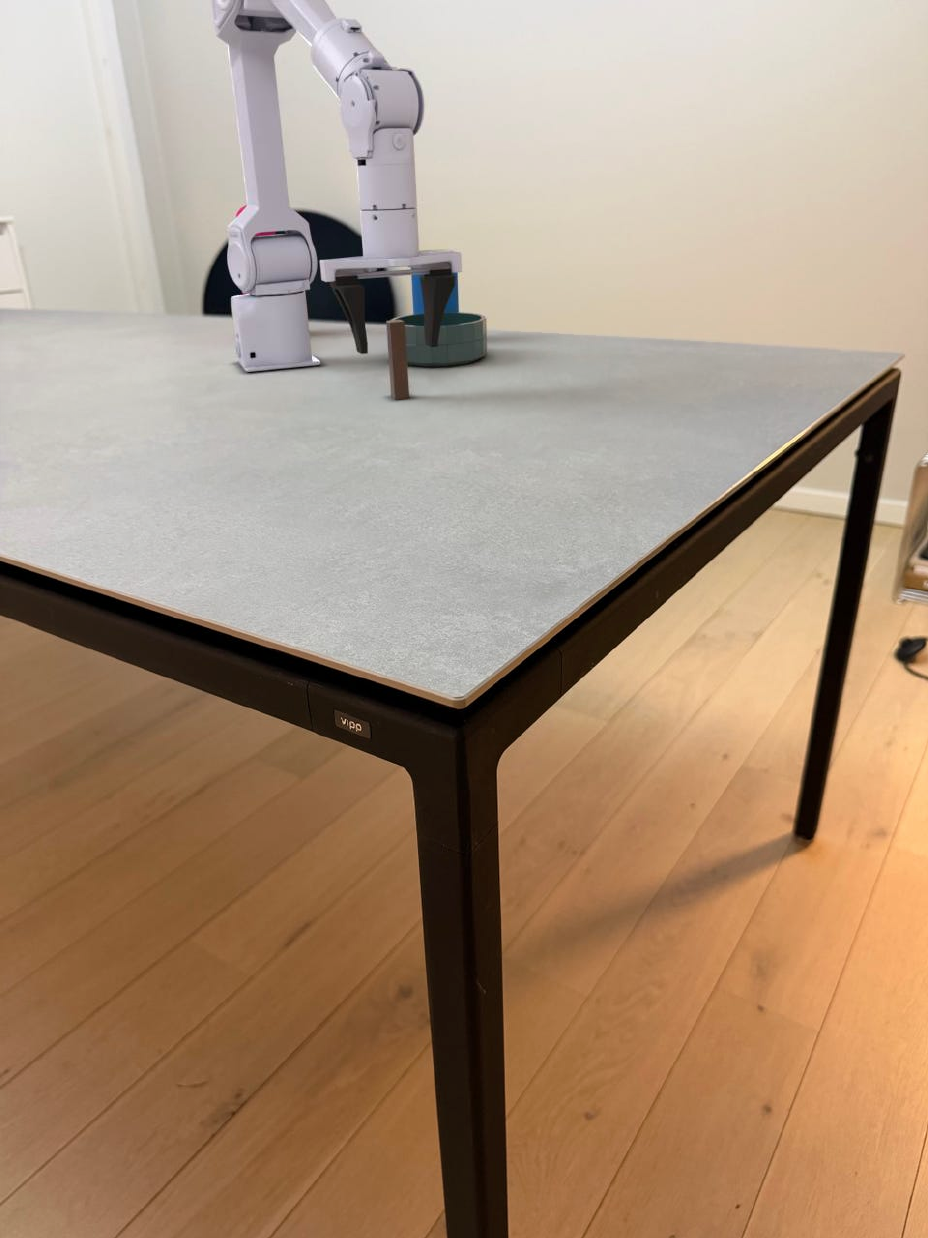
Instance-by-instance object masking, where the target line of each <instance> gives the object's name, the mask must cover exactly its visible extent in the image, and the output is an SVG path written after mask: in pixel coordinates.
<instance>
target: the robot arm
mask: <svg viewBox="0 0 928 1238" xmlns="http://www.w3.org/2000/svg"><path fill="white" fill-rule="evenodd" d="M210 4H211V12H212V20H213V24H214V30H215V35H216V37H217V38H218V39H220V40H221V41H222V42H224V43H225V44H226V45H227V51H228V60H229V67H230V76H231V83H232V92H233V99H234V101H233V102H234V108H235V115H236V123H237V124H236V125H237V131H238V132H237V133H238V142H239V149H240V157H241V164H242V173H243V182H244V190H245V197H246V205H247V207H246V208H245V209H244V210H243V211H242V212H241V213H240V214H239V215H238V216H237V217H236V216H235V217H234V219H233V220H232V221H231V222H230V223H229V224H228V226H227V236H228V237H227V238H228V239H227V241H228V242H227V243H228V247H227V258H226V259H227V267H228V271H229V275H230V277H231V279H232V282H233V283H234V284H235V285H236V287H237V288H238V289H239V290H240V291H241V293H242V294H240V295H239V294H237V295H233V296H231V298H230V307H231V316H232V324H233V331H234V339H235V343H234V344H235V345H234V346H235V353H236V357H237V362H238V364H239V365H240V366H241V367H242V369H243V370H244V371H245V372H246V373H247V372H259V371H260V372H261V371H270V370H271V371H272V370H281V369H291V368H292V369H293V368H300V367H310V366H320V365H321V361H320V360H319V359H318V358H317V357H316V356H314V355H313V353H312V343H311V334H310V325H309V314H308V304H307V296H306V295H307V294H306V291H310V290H311V284H312V283H313V282H314V280H315V277H316V275H317V271H318V256H317V251H316V247H315V245H314V242H313V239H312V234H311V229H310V223H309V222H308V221H307V220H306V219H305V218H304V217H302V216H301V215H300V214H299V213H298V212H297V211H296V210H294V209H293V208H292V207H291V206H290V199H289V198H290V197H289V187H288V179H287V169H286V158H285V151H284V150H285V149H284V139H283V129H282V120H281V113H280V112H281V111H280V101H279V92H278V82H277V73H276V64H275V63H276V62H275V55H276V53H277V51H278V50H279V47H280V46H281V45H283V44H286V43H288V42H290V41H291V40H292V38H293V37H294V36H295V35H296V33H298V34H299V35H300V36H301V37H302V39H304V40H305V41H306V42H307V43H308V45H309V46H310V60H311V63H312V66H313V68H314V69H315V71H316V72H317V74H318V75H319V76H320V77H321V79H322V80H323V81H324V82H325V83H326V85H327V86H328V87H329V89H330V90H331V91H332V92H333V94H334V96H335V97H336V98H337V99H338V100H339V101H340V104H339V107H338V109H339V114H340V119H341V124H342V126H343V129H344V130H345V132H346V134H347V135H346V136H347V138H348V139H347V140H348V149H349V153H350V154H351V155H350V156H351V157H352V158H353V159H355V163H356V164H355V165H356V176H357V192H358V203H359V204H358V205H359V216H360V217H359V218H360V230H361V231H360V232H361V241H362V242H361V244H362V256H352V257H351V256H350V257H344V258H343V257H341V258H331V259H320V260H319V269H320V280H321V281H322V282H325V283H330V284H329V285H330V288H331V289H332V292H333V293H334V295H335V297H336V299H337V300H338V303H339V304H340V306H341V308H342V311H343V312H344V315H345V317H346V319H347V322H348V324H349V328H350V330H351V333H352V337H353V340H354V344H355V349H356V352H357V353H358V354H360V355H366V354H367V355H368V353H369V344H368V336H367V328H366V315H365V313H366V312H365V311H366V310H365V309H366V308H365V303H366V302H365V300H366V288H365V287H364V285H362V284H361V283H362V282H361V281H359V280H361V279H375V278H388V277H400V276H401V277H403V276H404V277H405V276H411V275H418V274H426V275H423V276H421V277H420V278H419V279H420V284H421V290H422V297H423V306H424V334H425V342H426V345H428V346H430V347H437V346H438V337H439V331H440V326H441V322H442V318H443V314H444V311H445V308H446V305H447V302H448V300H449V297H450V295H451V293H452V291H453V289H454V287H455V282H456V276H455V275H452V273H457V272H458V273H462V272H463V261H462V258H463V257H462V252H460V251H454V252H433V253H419V251H420V240H419V239H420V238H419V222H418V221H419V219H418V200H417V199H418V198H417V182H416V181H417V180H416V178H417V177H416V160H415V143H414V142H415V140H414V138H415V137H414V136H415V135H417V133H419V131H420V130H421V127H422V125H423V121H424V117H425V96H424V89H423V87H422V85H421V83H420V80H419V79H418V77H417V75H416V73H415V71H414V70H413V69H411V68H406V67H405V68H404V67H401V68H397V66H391V64H390V63H389V62H388V61H387V59H386V58H385V56H384V55H383V53H382V52H381V51H380V50H378V49H377V48H376V47H375V45H374V44H373V43H372V42H371V40H370V39H369V38H368V37H367V36H366V35H365V33H364V32H363V31H362V30H363V26H362V25H361V23H360V22H359V21H358V19H356V18H355V19H354V18H353V19H352V18H343V17H341V18H337V17H336V15H335V13H334V11H332V8H331V7H330V6H329V4H328V3H327V1H326V0H210ZM273 231H276V232H285V233H282V234H274V235H267V236H254V235H255V234H257V233H261V232H273ZM253 236H254V237H253ZM405 267H407V268H408V269H397V270H396V269H395V270H381V271H377V270H378V269H385V268H386V269H387V268H405ZM411 268H420V269H411ZM243 293H246V295H243Z"/></svg>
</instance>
